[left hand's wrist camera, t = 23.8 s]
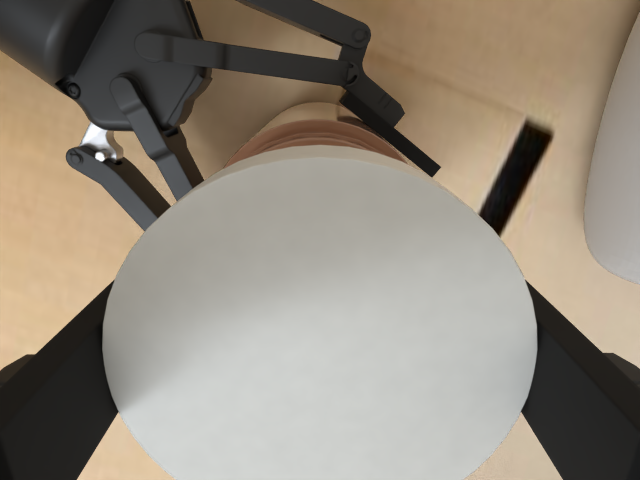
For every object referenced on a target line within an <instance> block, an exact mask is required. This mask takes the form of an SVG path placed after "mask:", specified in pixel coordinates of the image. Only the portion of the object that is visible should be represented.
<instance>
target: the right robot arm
mask: <svg viewBox="0 0 640 480" xmlns="http://www.w3.org/2000/svg"><path fill="white" fill-rule="evenodd" d="M236 1H238V2H240V3H242V4H244V5H246V6H249V7H251V8H253V9H256V10H258V11H260V12H263V13H265V14H267V15H270V16H272V17H274V18H277V19H279V20H281V21H284V22H286V23H288V24H291V25H293V26H295V27H298V28H300V29H302V30H305V31H307V32H309V33H312V34H314V35H316V36H319V37H321V38H323V39H326V40H328V41H330V42H332V43H335V44H337V45H339V46H342V48H341V51H340V55H339V58H338V60H333V59H326V58H319V57H312V56H305V55H298V54H291V53H284V52H277V51H270V50H263V49H256V48H249V47H242V46H235V45H228V44H223V43H217V42H210V41H204V40H203V37H202V34H201V31H200V28H199V25H198V23H197V20H196V17H195V14H194V11H193V9H192V6H191V3H190V0H0V50H1V51H2V52H4V53H5V54H7V55H8V56H9V57H11V58H12V59H14V60H15V61H17V62H18V63H20V64H21V65H22V66H24V67H25V68H27V69H28V70H30V71H31V72H32V73H34V74H35V75H37V76H38V77H40V78H41V79H43V80H44V81H45V82H47V83H48V84H50V85H51V86H53V87H54V88H55V89H57V90H59V91H60V92H62V93H63V94H65V95H67V96H68V97H70V98H71V99H73V100H74V101H75V102H77V103H78V104H79V106H80V107H81V108H82V109H83V111H84V112H85V114H86V116H87V117H88V119H89V120H90V121H91V122H90V124H89V126H88V128H87V130H86V132H85V135H84V137H83V139H82V141H81V143H80V145H79V146H78V147H75V148H72V149H69V150H68V152H67V153H66V160H67V162H68V164H69V165H70V166H71V167H72V168H74V169H76V170H77V171H79V172H81V173H82V174H84V175H86V176H88V177H89V178H91V179H93V180H94V181H96V182H98V183H99V184H101V185H102V186H103V187H104V188H105V189H106V190H107V192H108V193H109V194H110V195H111V196H112V197H113V198H114V199H115V200H116V201H117V202H118V203H119V204H120V205H121V207H122V208H123V209H124V210H125V211H126V212H127V213H128V214H129V215H130V216H131V217H132V218H133V219H134V221H135V222H136V223H137V224H138V225H139V226H140V227H141V228H142V229H143V230H144V231H146V230H147V228H148V227H150V226H151V225H152V224H153V223H154V222H155V221H156V220H157V219H158V218H159V217H160V216H161V215H162V214H163V213H164V212H165V211H167V210H168V209H169V208H170V207H171V206H170V205H169V203H168V202H167V201H166V200H165V199H164V198H163V197H162V196H161V194H160V193H159V192H158V191H157V190H156V189H155V188H154V187H153V185H152V184H151V183H150V182H149V181H148V180H147V179H146V178H145V176H144V175H143V174H142V173H141V172H140V171H139V170H138V169H137V168H136V167H135V166H134V165H133V164H132V163H131V162H130V161H129V160H127V159H126V158H125V157H123V148H122V147H121V146H120V145H119V144H118V143H117V142H116V141H115V139H114V136H113V132H114V131H134V132H135V134H136V136H137V137H138V139H139V141H140V143H141V145H142V146H143V148H144V150H145V152H146V154H147V155H148V156H149V157H150V158H151V159H152V160H154V161H155V163H156V164H157V166H158V168H159V170H160V171H161V173H162V175H163V177H164V179H165V180H166V182H167V184H168V186H169V188H170V190H171V191H172V193H173V195H174V197H175V199H176V200H177V201H178V200H180V199H181V198H182V197H183V196H185V195H186V194H187V193H188V192H189V191H191V190H192V189H193V188H195V187H196V186H197V185H199V184H200V183H202V182H203V181H204V179H203V177H202V175H201V173H200V171H199V169H198V168H197V166H196V164H195V162H194V160H193V158H192V156H191V154H190V152H189V150H188V148H187V144H186V139H185V137H184V135H183V133H182V131H181V129H180V127H179V125H180V124H183V123H185V121H186V120H187V118H188V117H189V115H190V113H191V111H192V108H193V104H194V101H195V99H196V98H197V97H198V96H199V95H200V94H201V93H202V92H204V91H205V90H206V88H207V87H208V85H209V84H210V82H211V80H212V78H211V73H212V68H217V69H224V70H232V71H239V72H246V73H253V74H260V75H267V76H275V77H282V78H289V79H296V80H303V81H310V82H317V83H325V84H332V85H339V86H342V87H343V88H344V89H345V90H346V92H345V94H344V95H343V96H342V98H341V99H340V100H339V101H340V103H341V104H342V105H344V106H345V107H346V108H347V109H349V110H350V111H351V112H352V113H353V114H355V115H356V116H357V117H358V118H360V119H361V120H362V121H363V122H364V123H366V124H367V125H368V126H369V127H371V128H372V129H373V130H374V131H375V132H377V133H378V134H379V135H380V136H382V137H383V138H384V139H385V140H386V141H388V142H389V143H390V144H391V145H393V146H394V147H395V148H396V149H397V150H399V151H400V152H401V153H402V154H404V155H405V156H406V157H407V158H408V159H410V160H411V161H412V162H413V163H415V164H416V165H417V166H418V167H419V168H421V169H422V170H423V171H424V172H426V173H427V174H428V175H429V176H430V177H433V176H434V175H435V174H436V172H437V171H438V170H439V169H440V168H441V167H440V166H439V165H438V164H437V163H436V162H434V161H433V160H432V159H431V158H430V157H428V156H427V155H426V154H425V153H424V152H422V151H421V150H420V149H419V148H418V147H416V146H415V145H414V144H413V143H412V142H410V141H409V140H408V139H407V138H406V137H404V136H403V135H402V134H401V133H399V132H398V131H397V130H396V129H395V128H394V126H395V125H396V124H397V123H398V121H399V120H400V119H401V118H402V117H403V115H404V114H405V113H404V111H403V109H402V107H401V105H400V104H399V103H398V102H397V101H396V100H394V99H393V98H392V97H391V96H390V95H389V94H387V93H386V92H385V91H384V90H383V89H382V88H380V87H379V86H378V85H377V84H376V83H374V82H373V81H372V80H371V79H370V78H369V77H367V75H366V74H365V73H364V71H363V67H362V62H363V58H364V55H365V51H366V48H367V45H368V43H369V41H370V38H371V32H370V29H369V27H368V26H367V25H366V24H364V23H363V22H360V21H358V20H356V19H353V18H351V17H349V16H347V15H344V14H342V13H340V12H338V11H335V10H333V9H331V8H328V7H326V6H324V5H322V4H319V3H317V2H315V1H313V0H236Z"/></svg>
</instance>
